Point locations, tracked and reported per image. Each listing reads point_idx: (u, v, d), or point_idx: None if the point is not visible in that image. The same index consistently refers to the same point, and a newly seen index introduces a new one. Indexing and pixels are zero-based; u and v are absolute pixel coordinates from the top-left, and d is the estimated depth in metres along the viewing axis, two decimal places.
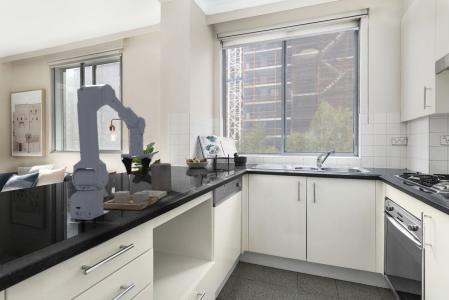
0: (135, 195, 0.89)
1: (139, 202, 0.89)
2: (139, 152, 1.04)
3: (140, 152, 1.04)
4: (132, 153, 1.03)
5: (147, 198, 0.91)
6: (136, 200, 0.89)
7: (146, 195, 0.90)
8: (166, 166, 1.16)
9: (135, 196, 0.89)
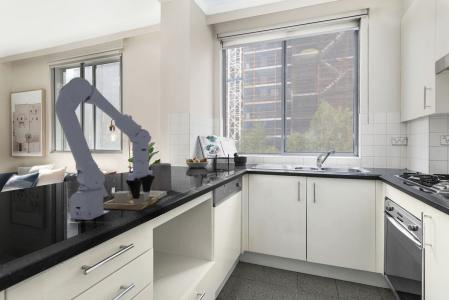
0: None
1: (139, 202, 0.89)
2: (133, 171, 0.89)
3: (134, 171, 0.88)
4: None
5: (147, 198, 0.91)
6: (136, 200, 0.89)
7: (146, 195, 0.90)
8: (166, 166, 1.16)
9: None
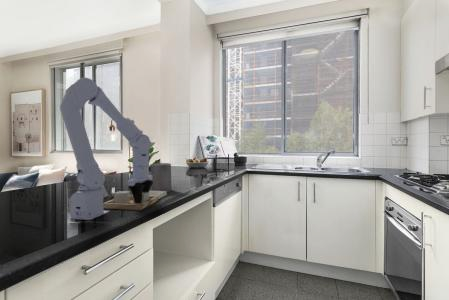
0: None
1: None
2: (133, 176, 0.89)
3: (134, 176, 0.88)
4: None
5: (147, 198, 0.91)
6: None
7: (146, 195, 0.90)
8: (166, 166, 1.16)
9: None
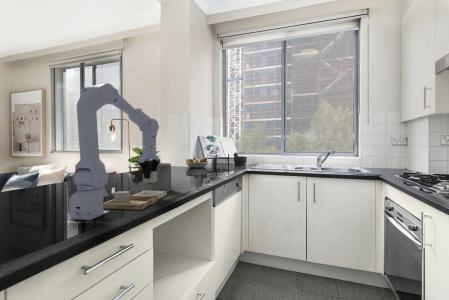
0: None
1: (148, 179, 1.01)
2: (143, 155, 1.01)
3: (144, 155, 1.01)
4: None
5: (155, 176, 1.04)
6: None
7: (154, 174, 1.03)
8: (166, 166, 1.16)
9: None
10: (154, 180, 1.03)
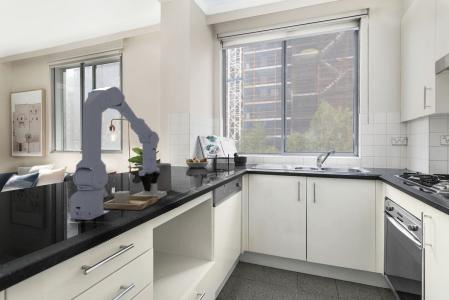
0: None
1: (148, 192, 1.02)
2: (143, 168, 1.01)
3: (144, 168, 1.01)
4: None
5: (155, 189, 1.04)
6: None
7: (155, 186, 1.03)
8: (166, 166, 1.16)
9: None
10: (154, 192, 1.03)
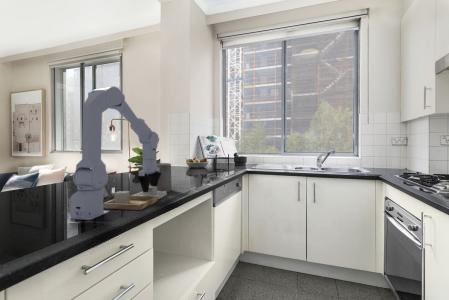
0: None
1: (148, 195, 1.02)
2: (143, 168, 1.01)
3: (144, 168, 1.01)
4: None
5: (155, 192, 1.04)
6: (146, 193, 1.02)
7: (154, 189, 1.03)
8: (166, 166, 1.16)
9: None
10: (154, 195, 1.03)
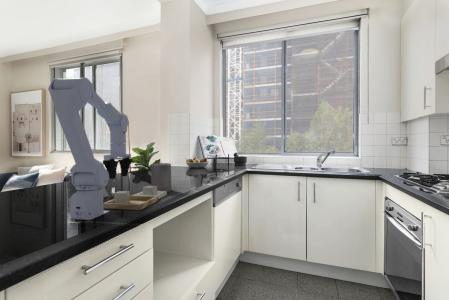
0: (145, 189, 1.02)
1: (148, 195, 1.02)
2: (111, 152, 0.93)
3: (111, 152, 0.93)
4: None
5: (155, 192, 1.04)
6: (146, 193, 1.02)
7: (154, 189, 1.03)
8: (166, 166, 1.16)
9: (145, 189, 1.02)
10: (154, 195, 1.03)
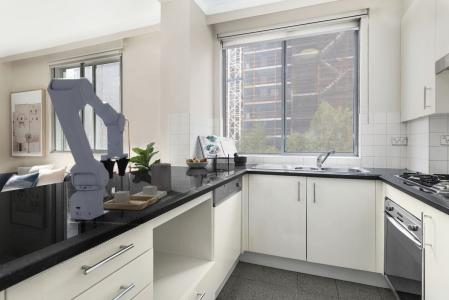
0: (145, 189, 1.02)
1: (148, 195, 1.02)
2: (108, 152, 0.92)
3: (108, 152, 0.92)
4: None
5: (155, 192, 1.04)
6: (146, 193, 1.02)
7: (154, 189, 1.03)
8: (166, 166, 1.16)
9: (145, 189, 1.02)
10: (154, 195, 1.03)
